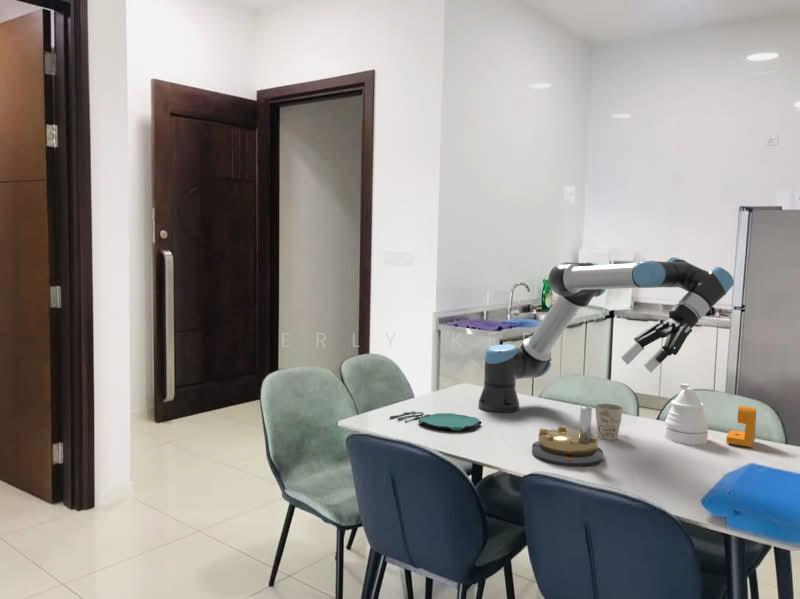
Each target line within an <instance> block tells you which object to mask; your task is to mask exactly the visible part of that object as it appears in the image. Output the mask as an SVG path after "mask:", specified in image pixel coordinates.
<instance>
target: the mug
mask: <svg viewBox="0 0 800 599" xmlns="http://www.w3.org/2000/svg"><path fill="white" fill-rule="evenodd" d="M594 407H595V419H596V431H597V437H598V438H599V439H603V440H607V441H608V440H609V441H611V440H613V441H614V440H617V439H618V436H619V432H620V426H621V422H622V415H623V407H622V406H621V405H618V404H617V405H616V404H611V403H598V404H595V406H594Z"/></svg>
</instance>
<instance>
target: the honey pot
mask: <svg viewBox="0 0 800 599" xmlns="http://www.w3.org/2000/svg"><path fill="white" fill-rule="evenodd" d="M679 386H680V389H681V391H680V392H679V393H678V395H676V398H675V399H673V400H671V402H670V404H671V408H670V409H669V411H668V414H667V417H666V419H665V420H664V431H663V437H664V438H665V439H666V440H669V441H671V442H673V441H674V442H673V443H677V442H679V443H678V444H683V443H685V445H692V444H700V445H705V444H707V443H708V433H709V430H708V428H709V425H708V423H707V419H706V414H705V412H704V408H705V407H706V406H705V404H704V403H702V402H701V401H700V398H699V396H698V395H697V392H695V390H694V389H692V388H690V387H689V386H690V385H689V383H680V384H679Z"/></svg>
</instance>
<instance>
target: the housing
mask: <svg viewBox="0 0 800 599" xmlns="http://www.w3.org/2000/svg"><path fill="white" fill-rule="evenodd" d="M531 454H532V456H533V457H535V458H536V459H538V460H540V461H543V462H546V463H548V464H553V465H557V466H564V467H565V466H566V467H579V468H580V467H581V468H582V467H583V468H584V467H593V466H597V465H599V464H601V463H603V461H604V450H603V449H602V448H600V447H599V446H598V447H597V452H596V453H594V454H591V455H585V456H570V455H561V454H556V453H552V452H548V451H546V450H543V449H542V448H540V447H539V445H538V440H537V441H535V442H534V443H532V446H531Z"/></svg>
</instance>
